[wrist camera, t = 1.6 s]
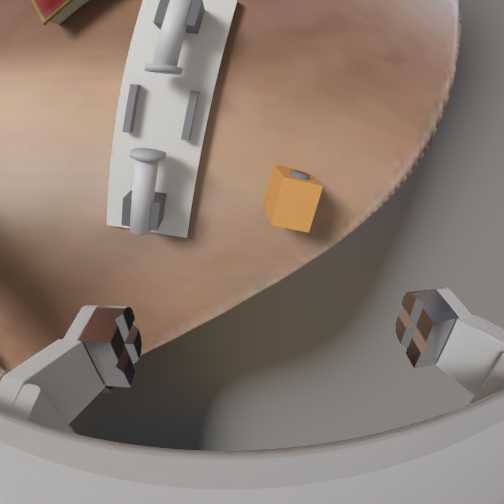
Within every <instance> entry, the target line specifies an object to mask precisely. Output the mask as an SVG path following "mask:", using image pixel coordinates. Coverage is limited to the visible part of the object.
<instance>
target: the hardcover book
mask: <svg viewBox="0 0 504 504" xmlns="http://www.w3.org/2000/svg"><path fill="white" fill-rule="evenodd" d="M87 1H89V0H31V2H32V3H33V5H34V7H35V9H36V11H37V13H38V15H39V17H40V19H41V21H42V22H43V24H44V25H46V24H47V23H48V22H49V21H50V22H53V23H56V24H61V23H62V22H63V21H64V20H65V19H66V18H68V17H69V16H70V15H71V14H72V13H74V12H75V11H76V10H77V9H78V8H80V7H81V6H82V5H83V4H85V3H86V2H87Z"/></svg>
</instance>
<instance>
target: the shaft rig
mask: <svg viewBox="0 0 504 504" xmlns="http://www.w3.org/2000/svg"><path fill="white" fill-rule="evenodd" d="M237 2H238V0H143V2H142V5H141V8H140V12H139V15H138V19H137V22H136V26H135V29H134V33H133V37H132V41H131V45H130V49H129V53H128V57H127V61H126V66H125V71H124V75H123V80H122V86H121V91H120V96H119V102H118V108H117V115H116V121H115V129H114V136H113V145H112V154H111V164H110V175H109V189H108V207H107V225H110V226H117V227H123V228H129V231H130V232H131V233H133V234H137V235H146V234H149V233H150V232H153V233H159V234H165V235H171V236H177V237H183V238H187V235H188V228H189V221H190V215H191V209H192V202H193V196H194V190H195V185H196V179H197V173H198V168H199V162H200V157H201V152H202V146H203V141H204V136H205V131H206V127H207V122H208V117H209V112H210V108H211V103H212V99H213V94H214V90H215V86H216V81H217V77H218V73H219V69H220V65H221V61H222V57H223V53H224V49H225V45H226V41H227V37H228V34H229V30H230V26H231V23H232V19H233V16H234V12H235V9H236V5H237Z"/></svg>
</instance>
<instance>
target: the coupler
mask: <svg viewBox="0 0 504 504" xmlns="http://www.w3.org/2000/svg"><path fill="white" fill-rule="evenodd" d="M322 188H323V186H322V185H321V184H320V183H319V182H318V181H317V180H316V179H315V178H314V177H313V176H311V175H310V174H309V173H308V172H305V171H301V170H296V169H292V168H288V167H284V166H279V165H275V164H274V168H273V172H272V176H271V180H270V184H269V188H268V192H267V196H266V200H265V204H264V207H265V210H266V213H267V216H268V219H269V222H270V224H271V226H276V227H282V228H286V229H292V230H298V231H303V232H308V233H309V230H310V227H311V224H312V221H313V218H314V215H315V211H316V208H317V205H318V202H319V198H320V195H321V192H322Z"/></svg>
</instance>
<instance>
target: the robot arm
mask: <svg viewBox="0 0 504 504" xmlns="http://www.w3.org/2000/svg"><path fill="white" fill-rule="evenodd" d="M402 305H403V307H404V309H403V310H402V311H401V313H400V314H399V315H398V318H397V322H396V333H397V337H398V339H399V341H400V343H401V344H402V345H404V346H406V347H407V352H406V354H407V356H408V358H409V360H410V362H411V363H412V365H413V367H414V368H418V367H423V366H428V365H432V364H436V365H437V366H438V367H439V368H440V369H442V370H443V371H444V372H445V373H447V374H448V375H449V376H451V377H452V378H453V379H455V380H456V381H457V382H458V383H459V384H461V385H462V386H463V387H465V388H466V389H467V390H468V391H470V392H471V393H472V394H473V395H475V397H474V398H473V399H472V401H471V402H470V403H469V405H466V406H464V407H461V408H458V409H456V410H453V411H451V412H448V413H445V414H442V415H439V416H436V417H433V418H430V419H427V420H424V421H421V422H417V423H414V424H411V425H407V426H404V427H400V428H396V429H393V430H388V431H384V432H380V433H376V434H372V435H367V436H362V437H358V438H352V439H347V440H341V441H336V442H329V443H323V444H316V445H309V446H300V447H292V448H291V447H290V448H280V449H267V450H245V451H199V450H179V449H166V448H156V447H146V446H138V445H131V444H124V443H117V442H111V441H105V440H100V439H95V438H90V437H85V436H81V435H77V434H76V433H75V432H74V431H73V429H72V428H71V427H70V426H69V425H68V424H69V423H70V422H71V421H72V420H73V419H74V418H75V417H76V416H77V415H78V414H79V413H80V412H81V411H82V410H83V409H84V408H85V407H86V406H87V405H88V404H89V403H90V402H91V401H92V400H93V399H94V398H95V397H96V396H97V395H98V394H99V393H100V392H101V391H102V390H103V389H104V388H105V386H116V387H131V384H132V381H133V378H134V375H135V371H136V370H135V368H134V365H133V364H134V363H135V362H137V361H138V360H139V358H140V355H141V346H142V342H141V335H140V332H139V329H138V328H136V327H135V326H134V325H133V321H134V319H135V317H134V314H133V311H132V309H131V308H130V307H129V306H103V305H100V306H98V305H85V306H83V307H82V308H81V310H80V311H79V313H78V315H77V316H76V318H75V320H74V321H73V323H72V325H71V326H70V328H69V330H68V331H67V333H66V335H65V337H64V338H63V339H58V340H57V341H55V342H54V343H52V344H50V345H49V346H47V347H46V348H44V349H43V350H41V351H40V352H38V353H37V354H35V355H34V356H32V357H31V358H29V359H28V360H26V361H25V362H23V363H22V364H20V365H19V366H17V367H16V368H14V369H13V370H11V371H10V372H8V373H7V374H5V375H4V376H3V378H2V379H1V381H0V504H504V329H502V328H500V327H498V326H496V325H494V324H492V323H490V322H488V321H486V320H484V319H482V318H480V317H478V316H476V315H474V316H472V315H471V314H470V313H469V311H468V310H467V309H466V308H465V307H464V305H462V303H461V302H460V301H459V300H458V299H457V297H456V296H455V295H454V294H453V293H452V292H451V291H450V289H449V288H446V287H440V288H434V289H431V290H423V291H415V292H407V293H406V294H405V296H404V297H403V301H402Z"/></svg>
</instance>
